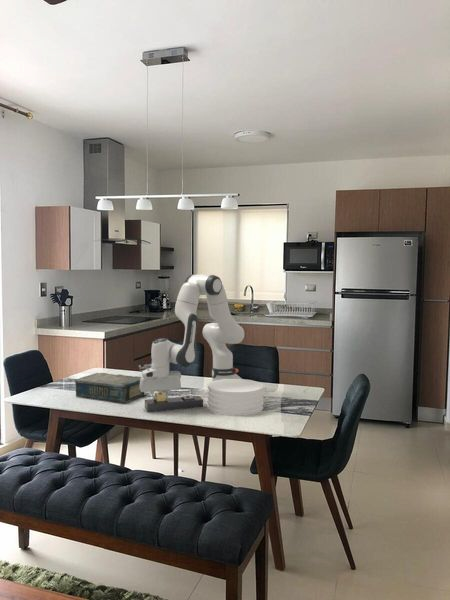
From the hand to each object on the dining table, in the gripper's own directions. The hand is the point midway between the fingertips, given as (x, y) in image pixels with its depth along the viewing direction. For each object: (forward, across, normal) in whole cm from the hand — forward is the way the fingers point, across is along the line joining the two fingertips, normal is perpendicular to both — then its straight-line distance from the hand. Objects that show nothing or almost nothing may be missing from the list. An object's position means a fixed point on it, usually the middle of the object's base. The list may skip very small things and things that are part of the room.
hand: (160, 399), depth 240 cm
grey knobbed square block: (+5, -14, 0) cm, 15 cm away
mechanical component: (+5, -4, -62) cm, 62 cm away
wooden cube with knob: (+2, 0, 0) cm, 2 cm away
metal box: (+5, +21, -32) cm, 39 cm away
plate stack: (+5, -37, +8) cm, 38 cm away
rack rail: (+5, -7, 0) cm, 8 cm away
